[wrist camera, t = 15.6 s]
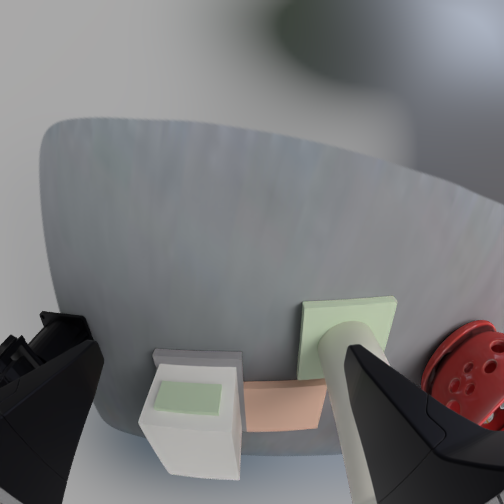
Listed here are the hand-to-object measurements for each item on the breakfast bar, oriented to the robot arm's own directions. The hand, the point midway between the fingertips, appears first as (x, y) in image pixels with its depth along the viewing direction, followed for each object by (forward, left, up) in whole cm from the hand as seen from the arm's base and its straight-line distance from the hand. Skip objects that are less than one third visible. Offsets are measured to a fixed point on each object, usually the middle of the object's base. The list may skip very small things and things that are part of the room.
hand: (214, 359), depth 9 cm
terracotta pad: (+4, -18, -12) cm, 22 cm away
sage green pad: (+9, -9, -12) cm, 17 cm away
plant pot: (+25, -14, -12) cm, 31 cm away
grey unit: (-4, -16, -12) cm, 20 cm away
